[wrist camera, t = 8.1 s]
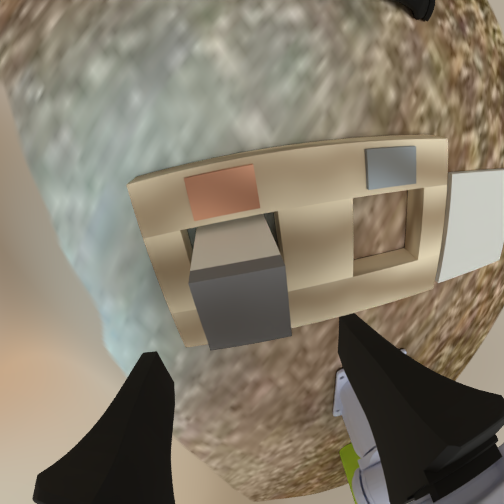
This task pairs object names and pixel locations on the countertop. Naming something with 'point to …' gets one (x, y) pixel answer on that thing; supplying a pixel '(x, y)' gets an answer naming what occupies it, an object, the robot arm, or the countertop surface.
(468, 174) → the mat
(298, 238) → the socket plate
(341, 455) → the soap dispenser
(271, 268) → the peg
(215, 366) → the countertop surface
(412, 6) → the electric trimmer
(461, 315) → the countertop surface
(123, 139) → the countertop surface
